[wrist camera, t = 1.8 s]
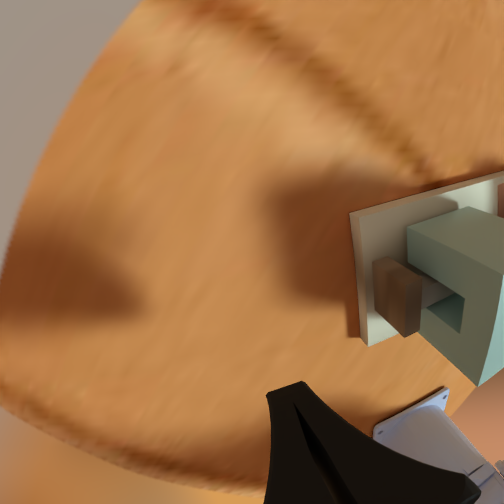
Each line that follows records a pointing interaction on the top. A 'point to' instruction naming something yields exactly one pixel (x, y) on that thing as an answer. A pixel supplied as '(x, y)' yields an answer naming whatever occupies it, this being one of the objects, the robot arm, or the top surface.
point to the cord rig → (396, 254)
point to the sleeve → (464, 288)
